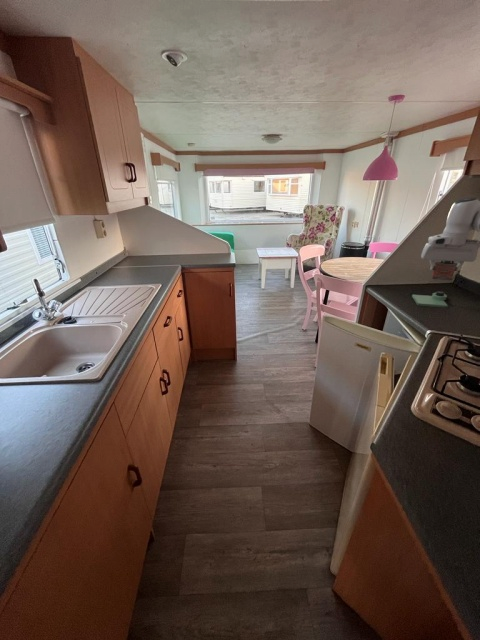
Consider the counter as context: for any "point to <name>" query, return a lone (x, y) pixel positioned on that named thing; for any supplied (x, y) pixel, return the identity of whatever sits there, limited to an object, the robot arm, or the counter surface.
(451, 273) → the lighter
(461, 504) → the counter surface
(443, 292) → the tare button
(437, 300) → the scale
